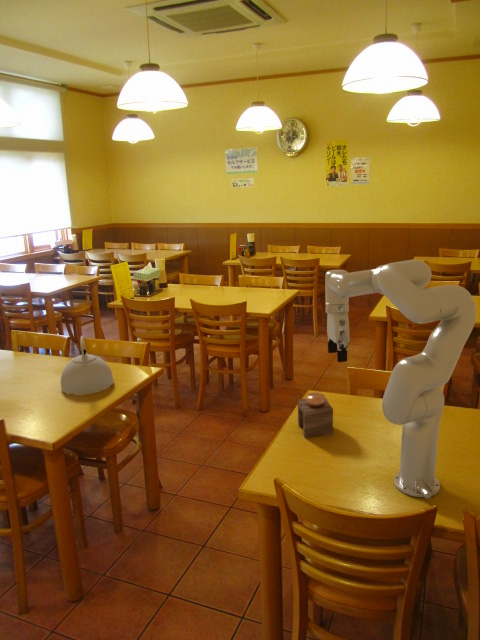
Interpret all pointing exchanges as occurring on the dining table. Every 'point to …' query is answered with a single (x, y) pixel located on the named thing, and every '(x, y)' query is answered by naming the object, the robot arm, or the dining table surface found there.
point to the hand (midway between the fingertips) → (337, 357)
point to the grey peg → (315, 400)
